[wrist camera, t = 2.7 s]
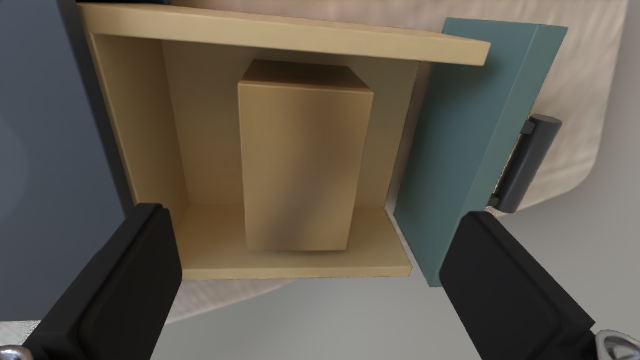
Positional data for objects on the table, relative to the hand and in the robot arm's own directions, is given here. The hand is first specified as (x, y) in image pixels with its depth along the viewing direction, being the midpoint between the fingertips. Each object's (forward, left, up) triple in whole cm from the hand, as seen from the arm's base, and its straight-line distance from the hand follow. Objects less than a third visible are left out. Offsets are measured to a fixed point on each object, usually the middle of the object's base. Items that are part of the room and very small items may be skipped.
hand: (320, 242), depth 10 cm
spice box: (0, 0, -9) cm, 9 cm away
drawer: (+2, 0, -10) cm, 10 cm away
